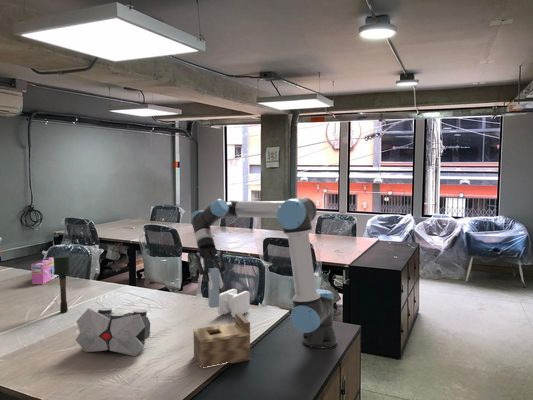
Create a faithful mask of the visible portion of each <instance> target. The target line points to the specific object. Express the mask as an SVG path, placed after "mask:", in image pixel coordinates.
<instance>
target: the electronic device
mask: <svg viewBox="0 0 533 400" xmlns="http://www.w3.org/2000/svg"><path fill="white" fill-rule="evenodd" d="M112 309H113V308H111V307H101V308H98V310H97V311H96V310H94V309H92V308H87V309H86V310H85V312H84V313H83V314H82V315H80V317H79V318H78V319H77V320H76V324H77V327H78V331H79V333H78V335H77V337H76V338H75V342H77V344H78V345H79V346H80V347H81V348H82V350H83V351H84V352H85V353H92V352H93V353H94V352H102V351H103V352H104V351H108V350H109V352H110V351H111V352H114V353H119V354H124V355H129V356H134V357H137V356H138V355H139V353H140V352H141V350H142V349H143V348H144V345H145V344H146V343H145V342H146V340H147V339H148V338H150V337H151V336H150V335H151V321H150V320H149V317H148V316H147V313H148V312H147V310H145V309H135V310H133V312H127V313H121V312H112V311H113V310H112Z"/></svg>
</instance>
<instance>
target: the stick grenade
mask: <svg viewBox="0 0 533 400" xmlns="http://www.w3.org/2000/svg"><path fill="white" fill-rule="evenodd" d="M53 258H54V273H53V274H54V275H59V277H58V279H59V287H60V305H59V307H60V309H59V312H60V314H61V313H63V314H64V313H67V312H68V310H69V308H68V301H67V275H69V274H71V273H72V269H71V255H69V254H60V255H55V256H54V257H53Z"/></svg>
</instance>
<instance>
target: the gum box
mask: <svg viewBox="0 0 533 400" xmlns="http://www.w3.org/2000/svg"><path fill="white" fill-rule="evenodd" d="M30 266H31V270H30V271H31V285H32V284H43V285H45V284H47V283H46V282H48V281H50V280H52V279H54V278H55V277H57V276H59V275H54V274H53V273H54V257H53V256H50V257H46V258H43V259H42V260H38V261H36V262H34V263H32V264H30ZM54 280H55V279H54ZM52 281H53V280H52ZM50 282H51V281H50ZM44 283H45V284H44ZM48 283H49V282H48Z"/></svg>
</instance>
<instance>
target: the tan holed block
mask: <svg viewBox="0 0 533 400" xmlns="http://www.w3.org/2000/svg"><path fill="white" fill-rule="evenodd" d="M234 318H235V319H234V320H235V321H234V322H231V323H226V324H218V325H212V326H205V327H200V328H199V327H198V328H193V335H194V334H195V335H196V337H197V338H198V340H199V341H200V343H207V342H213V341H219V340H225V339H230V338H236V337H242V336H248V335H250V336H251V322H250V321H249V320H248V319H247V318H246V316H244V314H241V313H235V317H234ZM213 332H219V333H220V334H214V335H210V334H209V333H213Z"/></svg>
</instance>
